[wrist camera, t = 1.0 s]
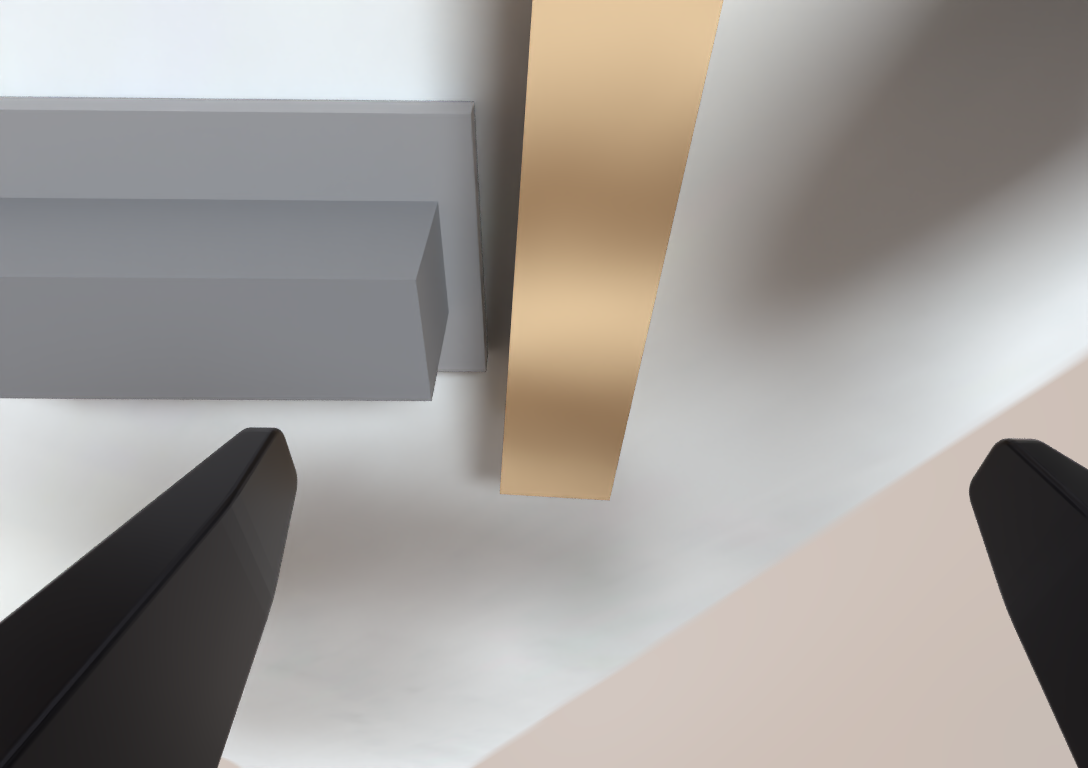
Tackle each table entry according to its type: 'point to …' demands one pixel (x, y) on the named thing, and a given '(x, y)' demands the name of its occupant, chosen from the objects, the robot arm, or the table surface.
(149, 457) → the table surface
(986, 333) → the table surface
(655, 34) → the beam
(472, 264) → the grey stepped block
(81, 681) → the robot arm
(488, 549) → the table surface
